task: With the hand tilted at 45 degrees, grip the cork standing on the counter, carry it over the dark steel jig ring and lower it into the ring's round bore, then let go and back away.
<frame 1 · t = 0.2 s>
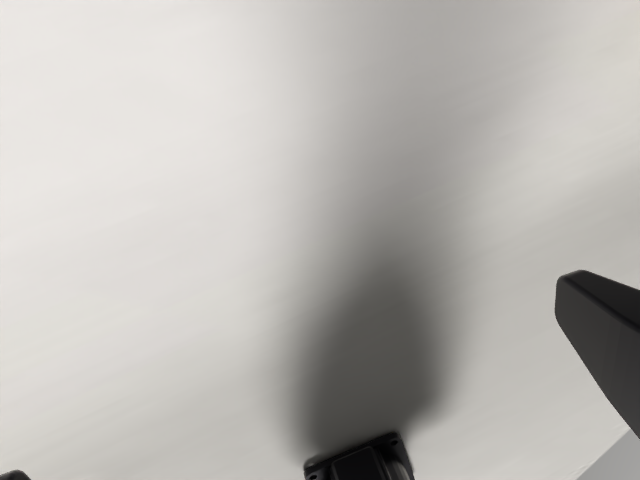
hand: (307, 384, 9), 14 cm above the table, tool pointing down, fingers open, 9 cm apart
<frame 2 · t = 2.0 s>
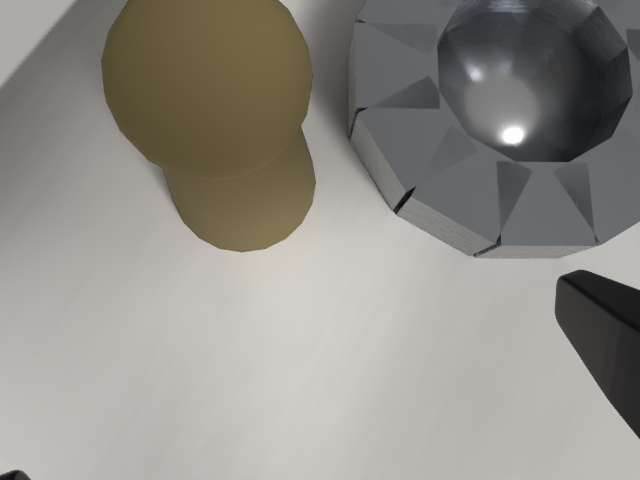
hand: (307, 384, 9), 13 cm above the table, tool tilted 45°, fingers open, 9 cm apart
cork: (244, 182, 23), on the table
jig: (505, 101, 24), on the table
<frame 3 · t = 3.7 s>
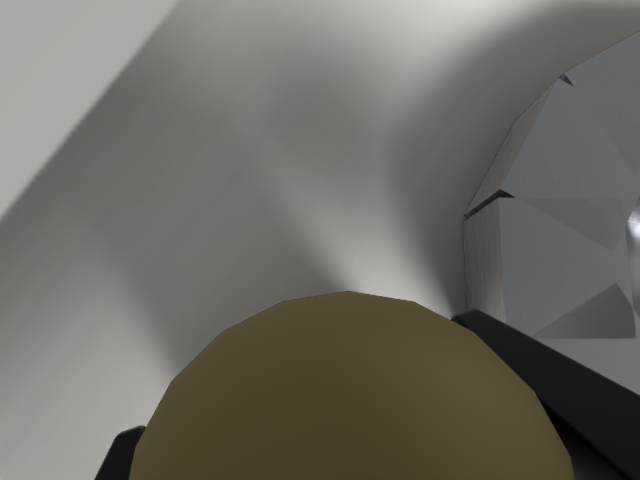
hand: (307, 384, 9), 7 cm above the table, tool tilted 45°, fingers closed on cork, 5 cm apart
cork: (317, 411, 16), on the table, touching gripper
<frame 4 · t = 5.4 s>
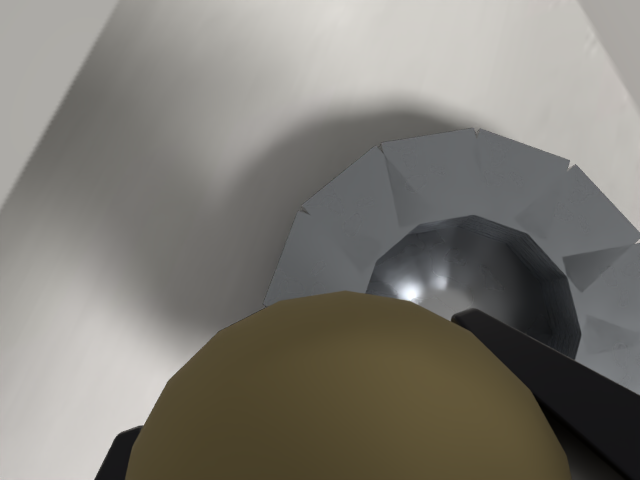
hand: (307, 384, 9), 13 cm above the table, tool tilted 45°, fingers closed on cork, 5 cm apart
cork: (316, 410, 16), point 6 cm above the table, touching gripper
jig: (446, 326, 22), on the table
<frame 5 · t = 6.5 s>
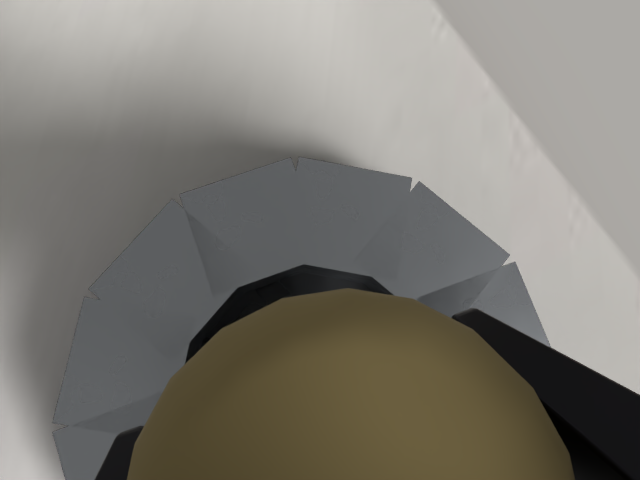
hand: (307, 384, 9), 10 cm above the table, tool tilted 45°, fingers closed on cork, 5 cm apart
cork: (317, 409, 16), point 3 cm above the table, touching gripper
jig: (311, 391, 18), on the table
when the fingers open (9 cm above the table, at t = 7.1 s): cork drops 1 cm, resting on jig.
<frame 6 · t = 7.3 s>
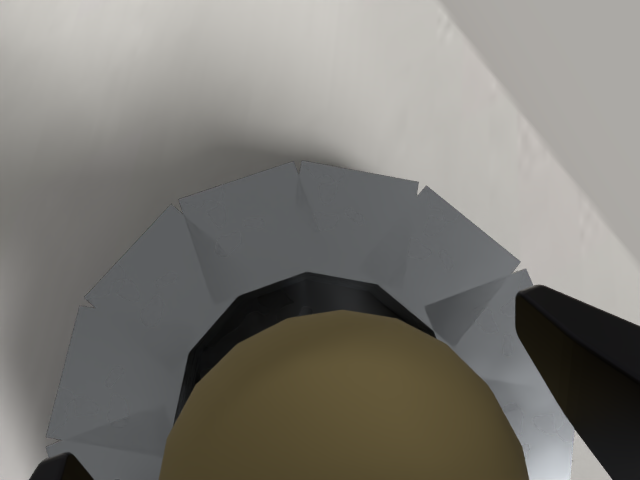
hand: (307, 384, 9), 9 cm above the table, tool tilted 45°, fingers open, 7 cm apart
cork: (319, 411, 17), point 1 cm above the table, touching jig
jig: (314, 402, 18), on the table
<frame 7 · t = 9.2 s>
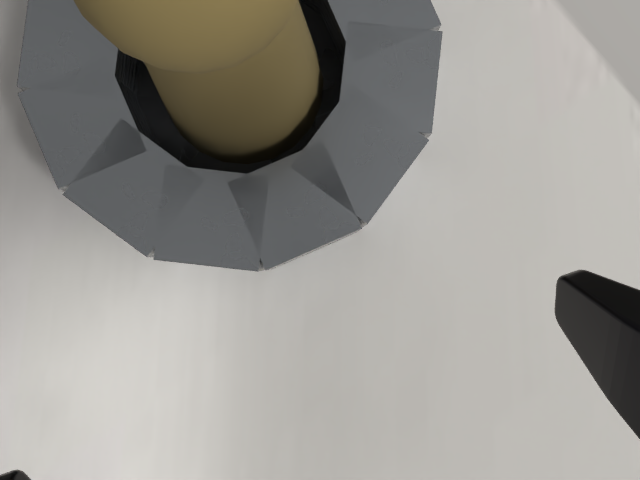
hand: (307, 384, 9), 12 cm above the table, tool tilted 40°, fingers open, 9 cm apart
cork: (244, 86, 21), point 1 cm above the table, touching jig
jig: (242, 86, 22), on the table
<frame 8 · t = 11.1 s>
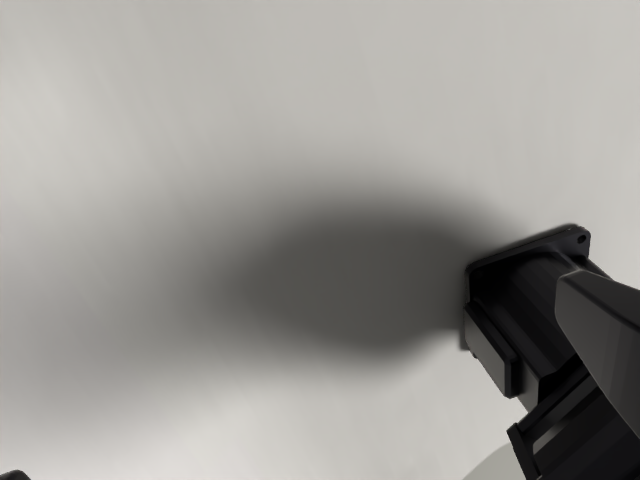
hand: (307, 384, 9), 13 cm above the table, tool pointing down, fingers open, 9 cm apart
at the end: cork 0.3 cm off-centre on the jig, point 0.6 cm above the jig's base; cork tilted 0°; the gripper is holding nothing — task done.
